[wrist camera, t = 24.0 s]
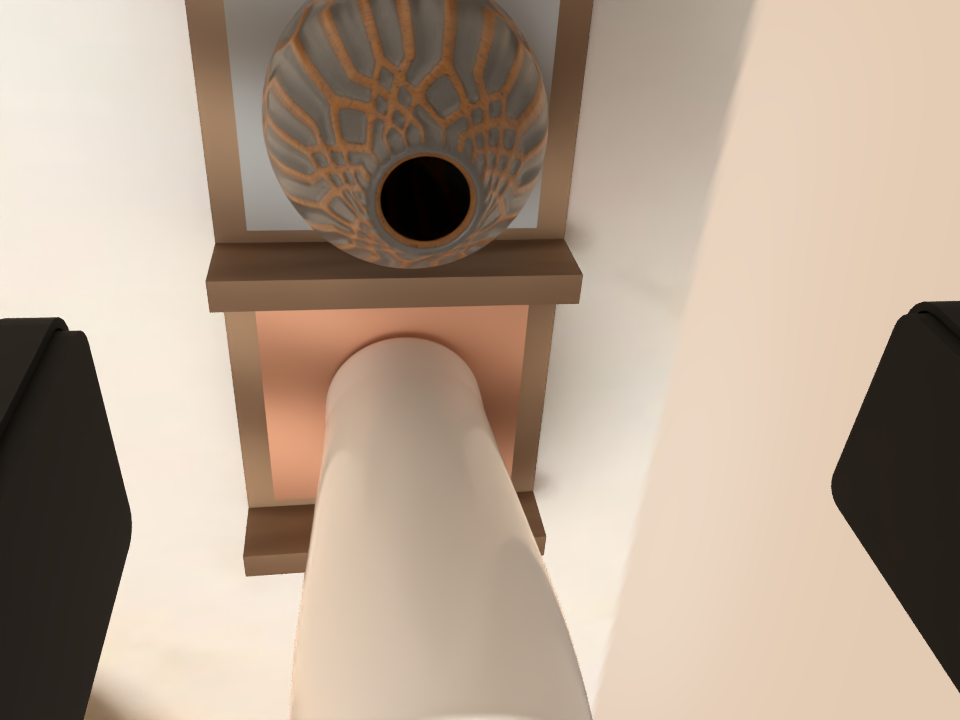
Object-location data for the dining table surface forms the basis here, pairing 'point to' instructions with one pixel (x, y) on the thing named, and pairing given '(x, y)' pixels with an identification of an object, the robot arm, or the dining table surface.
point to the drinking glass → (424, 559)
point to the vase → (405, 125)
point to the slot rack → (368, 277)
